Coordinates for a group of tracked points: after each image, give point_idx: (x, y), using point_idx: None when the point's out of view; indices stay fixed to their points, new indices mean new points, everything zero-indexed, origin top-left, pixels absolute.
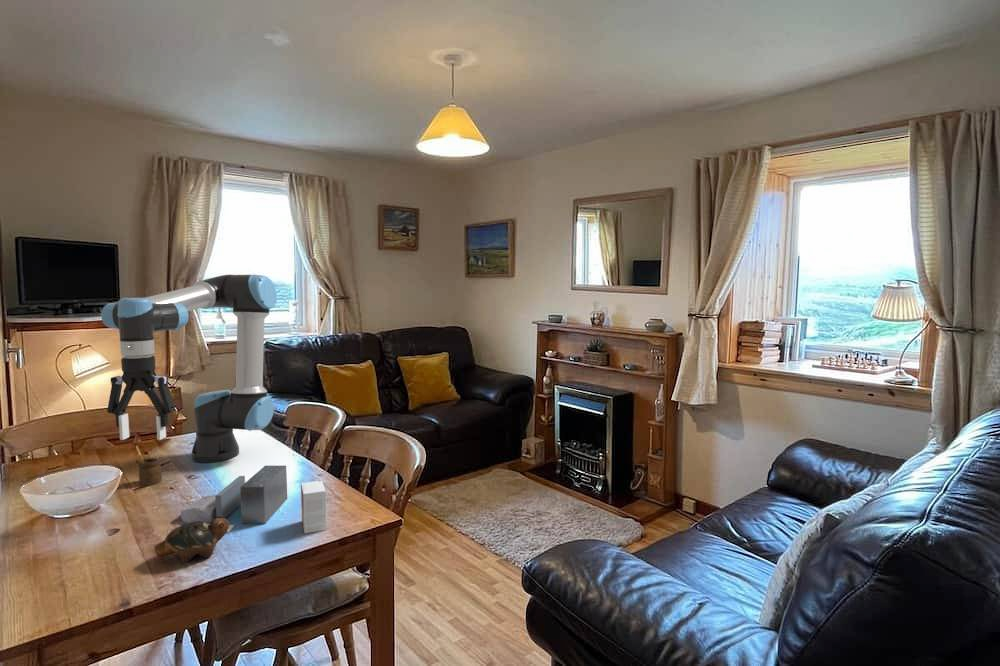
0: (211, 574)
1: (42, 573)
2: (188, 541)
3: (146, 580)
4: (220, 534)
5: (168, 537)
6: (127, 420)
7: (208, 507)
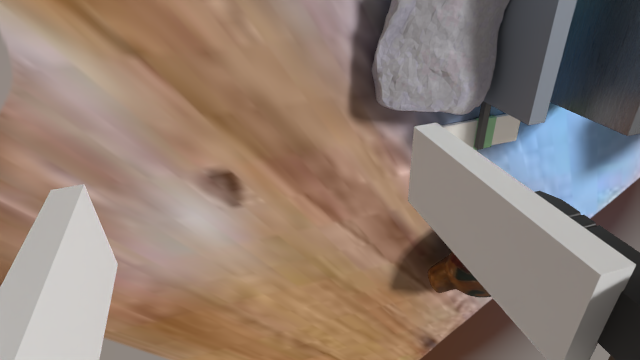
0: None
1: (235, 340)
2: None
3: (429, 303)
4: None
5: (469, 293)
6: (33, 351)
7: (475, 103)
